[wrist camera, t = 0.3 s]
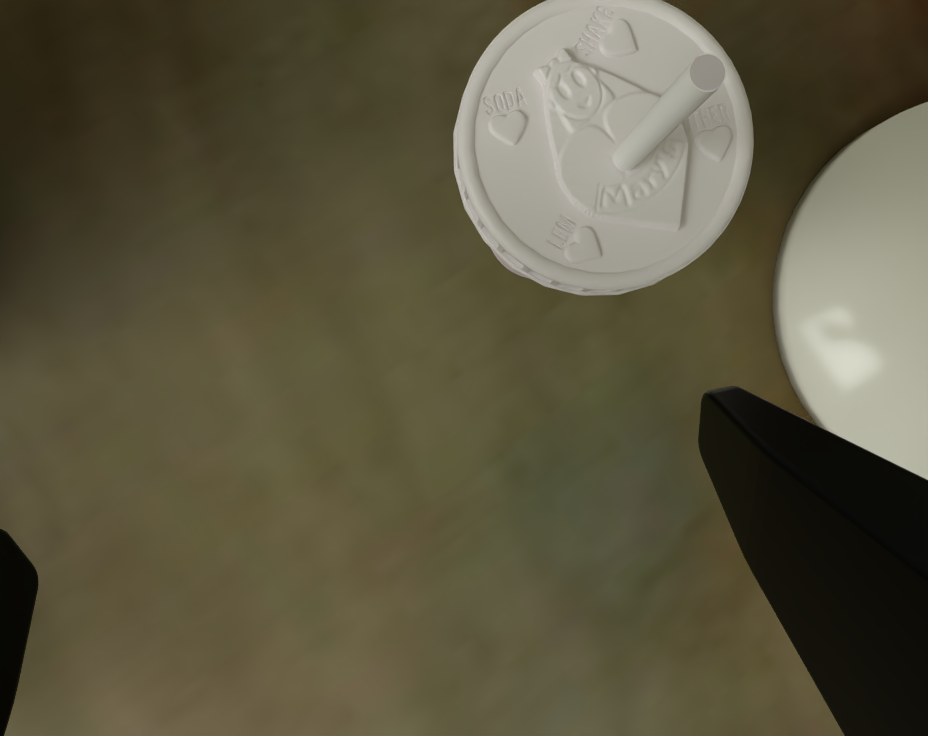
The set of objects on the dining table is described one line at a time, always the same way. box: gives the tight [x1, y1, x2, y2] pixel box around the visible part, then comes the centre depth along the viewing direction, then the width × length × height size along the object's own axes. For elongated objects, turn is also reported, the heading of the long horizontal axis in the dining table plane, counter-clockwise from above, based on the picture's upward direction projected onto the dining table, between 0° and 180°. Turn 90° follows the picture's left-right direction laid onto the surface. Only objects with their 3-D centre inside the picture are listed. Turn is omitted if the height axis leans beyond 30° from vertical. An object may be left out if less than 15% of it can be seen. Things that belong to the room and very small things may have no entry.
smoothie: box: [453, 0, 754, 295], centre depth 17 cm, size 6×6×14 cm
